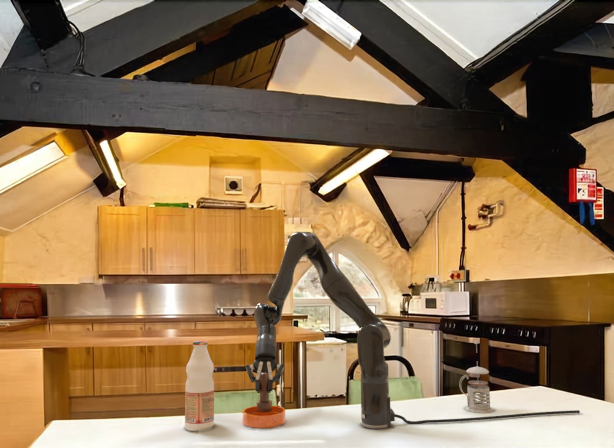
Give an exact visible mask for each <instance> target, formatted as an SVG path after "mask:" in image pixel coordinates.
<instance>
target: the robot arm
mask: <svg viewBox="0 0 614 448" xmlns="http://www.w3.org/2000/svg"><path fill="white" fill-rule="evenodd" d="M302 258H306V259H308V260H309V261H310V263H311V264H312V265H313V266H314V268H315V270H316V271H317V274H318V279H319V282H320V287H321V289H322V290H323V292H324V293H325V294H326V296H327V297H328V298H329V300H330V301H331V302H332V303H333V305H334V306H335V307H337V308H338V309H339V310H340V311H341V312H343V313H344V314H345V315H346V316H348V317H349V318H351V320H353V322H354V323H355V324H356V325H357V327H358V328H359V330H358V333H357V338H356V346H357V361H358V365H359V368H360V426H362V427H363V428H366V429H371V430H372V429H373V430H380V429H388V428H392V422H396V418H398V419H400V420H402V421H403V422H404V423H406V424H409V425H421V424H432V423H433V424H434V423H435V424H436V423H455V422H456V423H457V422H471V421H485V420H486V421H487V420H497V419H508V418H520V417H521V418H522V417H532V416H547V415H563V414H565V415H566V414H580V413H581V411H580V410H579V409H576V410H574V409H573V410H553V411H540V412H539V411H538V412H526V413H515V414H513V413H512V414H501V415H490V416H478V417H463V418H445V419H442V418H441V419H423V420H416V421H415V420H414V421H413V420H408V419H407V418H406V417H404V416H402V415H400V414H396V412H395V411H394V410H393V409H392V408H391V396H390V386H389V383H390V382H389V364H388V363H387V362H386V359H385V349H386V348H387V347H388V346H389V345H390V343H391V340H392V339H391V337H392V336H391V332H390V329H389V328H388V327H387V326H386V324H385V323H384V322H383V321H382V320H381V319H380V318H379V317H378V316H377V315H376V314H375V313H374V312H373V310H372V309H371V308H370V307H369V305H368V304H367V303H366V302H365V300H364V299H363V297H362V296H361V295H360V293H359V292H358V291H357V290H356V288H355V287H354V285H353V284H352V283H351V281H350V280H349V279H348V278H347V276H346V275H345V274H344V272H342V270H341V269H340V268H339V266H338V265H337V264H336V263H335V261H334V260H333V259H332V258H331V256H330V254H329V252H328V251H327V250H326V248H325V246H324V245H323V243H322V241H321V240H320V239H319V237H318V236H317V235H316V234H315V233H313V232H311V231H296V232H294V233H292V234H291V235H290V236H289V238H288V240H287V243H286V245H285V249H284V253H283V255H282V260H281V261H280V262H281V263H280V266H279V269H278V272H277V273H276V276H275V277H274V281H273V282H272V284H271V287H270V289H269V290H268V293H267V295H266V297H267V300H268V301H269V302H270V303H272V304H273V305H275V306H273V305H270V304H269V303H264V302H260V303H258V304H257V305H256V306H255V307H254V310H253V318H254V322H255V326H256V330H257V333H256V342H255V352H254V361H253V363H252V364H250V365H249V364H246V365H245V369H246V372H247V374H248V377H249V380H250V382H251V383H255V385H254V386H255V387H254V388H255V392H256V393H257V394H260V378H259V376H260V374H261V373H262V372H266V373H268V375H269V381H268V393H269V394H271V392H273V388H274V383H278V382H279V381H280V379H281V377H282V375H283V373H284V372H285V364H283V363H281V364H279V363H278V362H277V350H278V348H277V347H278V346H277V325H278V324H280V322H281V320H282V315H283V309H284V306H285V302H286V300H287V298H288V296H289V294H290V292H291V290H292V288H293V284H294V275H295V271H296V267H297V265H298V264H299V262H300V260H301V259H302ZM276 369H277V371H276V373H275V375H273V373H274V371H275V370H276ZM254 370H255V371H256V376H255V375H254V372H253V371H254Z"/></svg>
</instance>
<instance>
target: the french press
mask: <svg viewBox="0 0 614 448" xmlns="http://www.w3.org/2000/svg"><path fill="white" fill-rule="evenodd" d="M473 344H474V345H475V347H476V348H475V349H476V352H478V344H480V341H479V340H478V339H477V340H476V339H475V340H474V341H473ZM478 363H479V362H476V366H473V367H469V368H468V369H466V373H467V374H464V375H462V376H461V377H460V379H459V382H458V383H459V384H458V385H459V390H460V392H461V393H462V394H464V395H465V396H466V403H467V406H466V407H465V408H464V409H465V411H468V412H472V413H476V414H477V413H478V414H489V413H492V412H494V409H493V408H492V407H491V399H490V398H491V396H490V395H491V394H490V393H491V392H490V391H491V390H490V386H489V382H488V381H484V380H478V379H477V380H474V379H473V380H469V377H468V374H472V375H477V377H479V375H488V374H489V373H490V371H489V370H488V369H487V368H484V367H481V366H478ZM465 378H466V380H469V381H468V382H467V383H468V385H467V387H466V388H467V393H465V392H464V391H463V388H462V387H461V384H462V382H463V380H464V379H465Z"/></svg>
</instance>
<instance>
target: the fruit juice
mask: <svg viewBox="0 0 614 448" xmlns="http://www.w3.org/2000/svg"><path fill="white" fill-rule="evenodd" d="M208 344H209V341H208V340H204V339H200V340H198V339H197V340H193V341H192V347H193V349H192V351H191V355H190V357H189V360H188V362H187V363H186V367H185V373H186V376H187V378H186V381H185V385H184V387H185V388H184V392H185V393H184V402H185V403H184V428H185V429H186V430H187V431H189V432H191V431H192V432H199V431H200V430H204V429H205V430H206V429H210V428H212V427H213V426H214V424H215V380H214V378H213V375H214V371H215V365H214V362H213V360H212V359H211V356H210V353H209V350H208Z"/></svg>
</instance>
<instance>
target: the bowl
mask: <svg viewBox="0 0 614 448" xmlns="http://www.w3.org/2000/svg"><path fill="white" fill-rule="evenodd" d="M241 415H242V417H241V418H242V424H243V425H244V426H246V427H249V428H255V429H268V428H275V427H280V426H282V425H284V424H285V423H286V409H285V407H282V406H280V405H279V406H278V405H272V411H270V412H264V413H263V412H257V405H253V406H249V407H246V408H244V409H242V414H241Z"/></svg>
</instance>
